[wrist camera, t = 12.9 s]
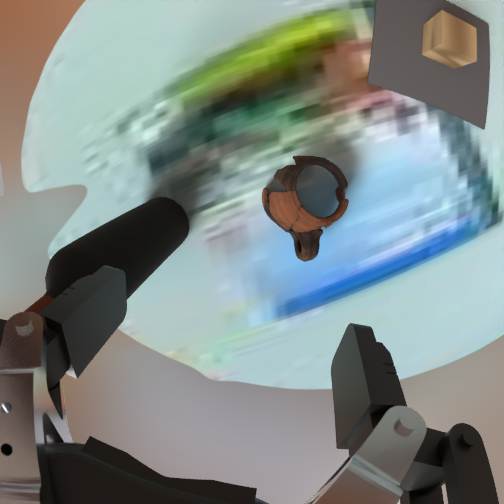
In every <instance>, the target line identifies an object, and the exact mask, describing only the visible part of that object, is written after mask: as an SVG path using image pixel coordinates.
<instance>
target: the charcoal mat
mask: <svg viewBox="0 0 504 504" xmlns="http://www.w3.org/2000/svg"><path fill="white" fill-rule="evenodd" d="M441 10H443V11H445V12H447V13H449V14H451V15H453V16H455V17H457V18H459V19H461V20H463V21H464V22H466V23H468V24H470V25H472V26H473V27H475V28H476V33H477V61H476V62H473V63H470V64H467V65H464V66H461V67H458V68H456V69H453V68H451V67H449V66H447V65H444V64H442V63H440V62H438V61H436V60H433V59H431V58H429V57H426V56H424V55H422V48H423V28H424V24H425V23H426V22H427V21H429V20H430V19H431V18H432V17H434V16H435V15H436V14H437V13H439V12H440V11H441ZM489 69H490V47H489V26H488V24H487V23H486V22H484V21H482V20H481V19H479V18H477V17H476V16H474V15H472V14H471V13H469V12H467V11H465V10H463V9H461V8H460V7H458V6H456V5H454V4H452V3H450V2H448V1H446V0H376V5H375V18H374V29H373V39H372V48H371V57H370V64H369V72H368V79H367V83H368V84H372V85H375V86H378V87H381V88H385V89H388V90H391V91H394V92H397V93H400V94H403V95H405V96H408V97H411V98H414V99H416V100H419V101H422V102H424V103H427V104H429V105H432V106H434V107H436V108H439V109H441V110H444V111H446V112H448V113H450V114H453V115H455V116H457V117H459V118H461V119H463V120H465V121H467V122H469V123H471V124H473V125H475V126H477V127H479V128H481V129H485V123H486V114H487V104H488V92H489Z"/></svg>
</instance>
